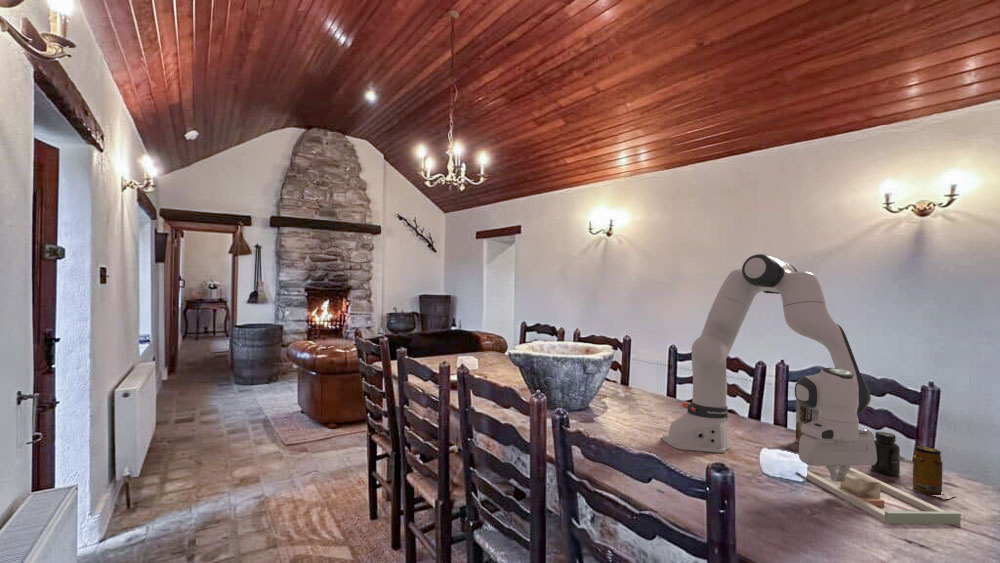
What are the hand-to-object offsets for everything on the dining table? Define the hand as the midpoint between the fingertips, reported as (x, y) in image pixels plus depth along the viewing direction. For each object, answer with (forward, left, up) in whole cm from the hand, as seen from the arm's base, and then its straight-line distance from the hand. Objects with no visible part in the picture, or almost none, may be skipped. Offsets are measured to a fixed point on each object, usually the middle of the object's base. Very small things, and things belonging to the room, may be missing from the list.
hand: (837, 480), depth 123 cm
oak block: (+6, 0, -4) cm, 7 cm away
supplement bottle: (+30, +16, -4) cm, 34 cm away
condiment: (+30, +2, -4) cm, 30 cm away
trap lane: (+9, 0, -4) cm, 9 cm away
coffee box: (+25, +40, -4) cm, 47 cm away
